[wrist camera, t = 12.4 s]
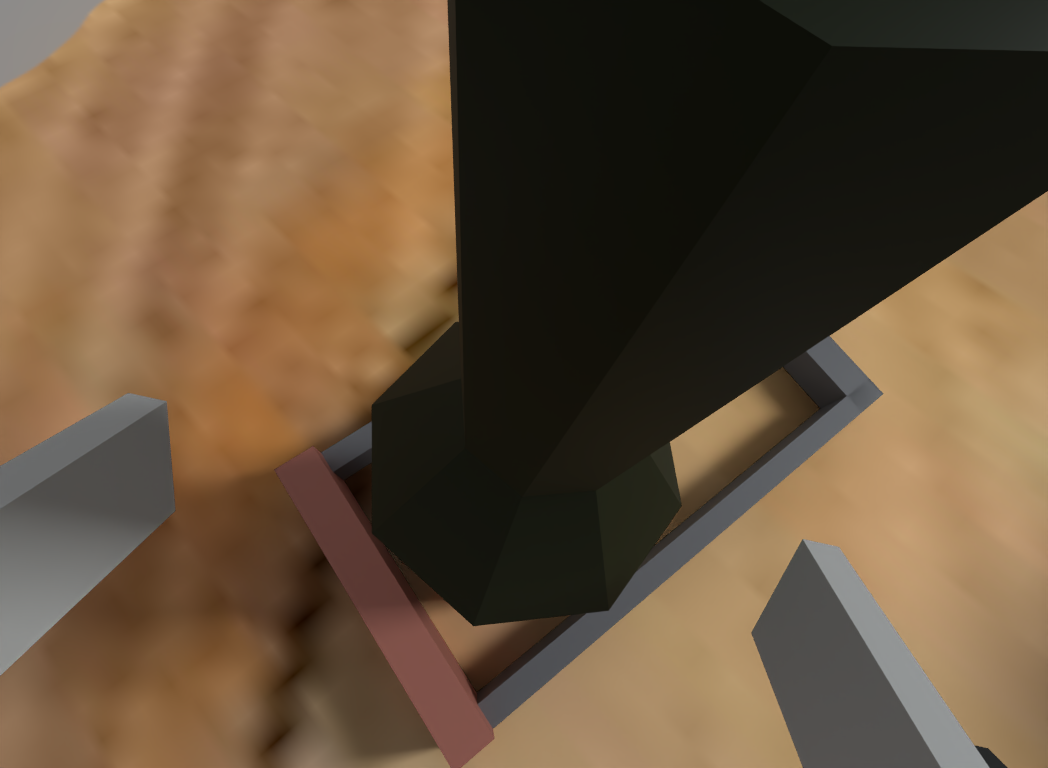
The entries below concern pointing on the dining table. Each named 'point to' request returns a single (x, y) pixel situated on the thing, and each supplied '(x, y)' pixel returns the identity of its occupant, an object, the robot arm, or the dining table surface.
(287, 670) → the dining table surface
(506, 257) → the wine bottle
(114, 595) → the dining table surface
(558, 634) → the frame
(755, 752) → the dining table surface
